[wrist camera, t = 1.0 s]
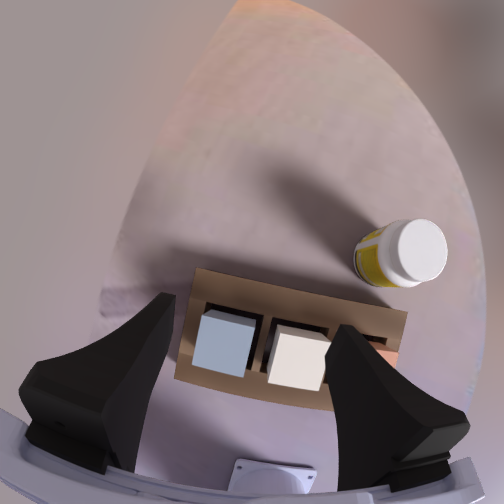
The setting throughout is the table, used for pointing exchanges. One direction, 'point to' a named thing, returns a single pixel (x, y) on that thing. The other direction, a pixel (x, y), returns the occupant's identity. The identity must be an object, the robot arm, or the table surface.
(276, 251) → the table surface
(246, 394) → the key block
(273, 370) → the white key
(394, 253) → the supplement bottle
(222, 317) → the blue key
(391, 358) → the red key
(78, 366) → the robot arm
